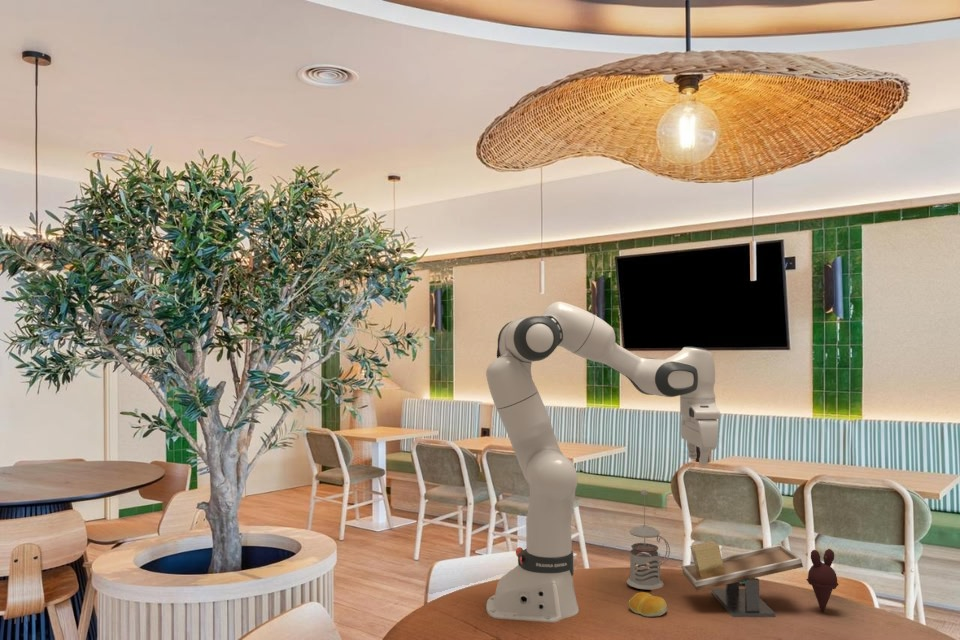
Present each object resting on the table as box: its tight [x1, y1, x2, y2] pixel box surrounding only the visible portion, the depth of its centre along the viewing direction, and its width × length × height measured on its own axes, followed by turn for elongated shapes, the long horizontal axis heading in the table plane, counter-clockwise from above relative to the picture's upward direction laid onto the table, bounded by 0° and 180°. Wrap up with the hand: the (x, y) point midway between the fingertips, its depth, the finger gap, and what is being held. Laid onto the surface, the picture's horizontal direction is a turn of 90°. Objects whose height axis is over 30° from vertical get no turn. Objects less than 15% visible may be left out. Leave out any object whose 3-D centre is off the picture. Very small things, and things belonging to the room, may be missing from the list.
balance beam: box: [681, 544, 804, 592], centre depth 174 cm, size 26×12×3 cm, turn 89°
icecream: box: [806, 548, 839, 613], centre depth 169 cm, size 7×7×15 cm
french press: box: [626, 489, 671, 590], centre depth 190 cm, size 10×12×25 cm
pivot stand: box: [711, 577, 777, 618], centre depth 174 cm, size 10×16×9 cm, turn 179°
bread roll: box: [628, 591, 668, 618], centre depth 169 cm, size 8×9×4 cm
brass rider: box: [689, 540, 725, 579], centre depth 174 cm, size 6×4×7 cm, turn 89°
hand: (697, 461), depth 183 cm, fingers open, 8 cm apart
